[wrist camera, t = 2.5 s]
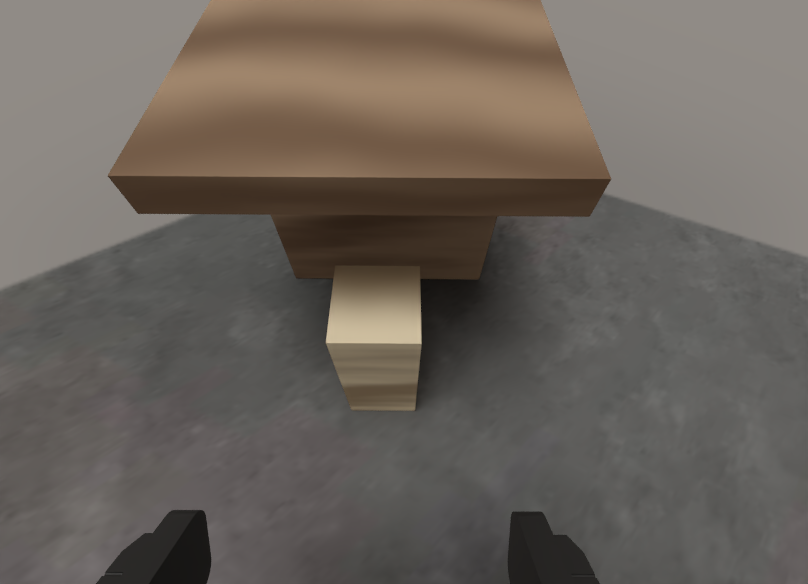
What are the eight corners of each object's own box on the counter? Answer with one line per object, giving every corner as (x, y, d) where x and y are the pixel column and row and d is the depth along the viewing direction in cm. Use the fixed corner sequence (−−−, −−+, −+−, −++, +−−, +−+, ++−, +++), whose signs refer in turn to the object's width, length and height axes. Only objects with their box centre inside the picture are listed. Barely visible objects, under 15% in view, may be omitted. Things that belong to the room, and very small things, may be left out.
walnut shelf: (491, 387, 26) (611, 178, 11) (276, 385, 26) (107, 175, 11) (472, 220, 34) (527, -34, 19) (306, 219, 34) (231, -36, 19)
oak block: (414, 410, 25) (421, 343, 17) (351, 410, 25) (325, 343, 17) (414, 352, 27) (419, 266, 19) (355, 351, 27) (335, 265, 19)
